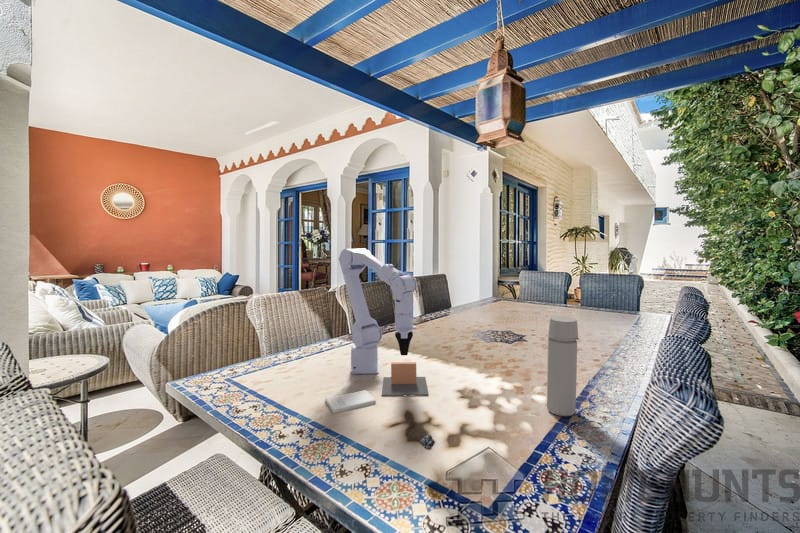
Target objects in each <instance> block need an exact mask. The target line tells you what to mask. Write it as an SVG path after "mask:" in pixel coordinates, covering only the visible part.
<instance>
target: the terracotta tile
mask: <svg viewBox="0 0 800 533" xmlns="http://www.w3.org/2000/svg"><path fill="white" fill-rule="evenodd" d="M390 365H391V367H390V369H391V371H390V372H391V373H390V374H391V376H390V377H391V384H416V377H417V361H405V362H403V361H402V362H401V361H399V362H397V361H396V362H394V361H393V362H390Z"/></svg>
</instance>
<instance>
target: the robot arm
mask: <svg viewBox="0 0 800 533" xmlns="http://www.w3.org/2000/svg"><path fill="white" fill-rule="evenodd" d="M338 260H339V261H338V262H339V265H340V270H341V272H342V275H343V280H344V283H345V287H346V290H347V294H348V299H349V301H350V305H351V309H352V312H353V316H354V320H355V322H354V323H353V325H351V327H350V329H351V339H352V342H353V344H354V345H352V346H351V349H350V350H351V351H350V369H351V370H350V373H351V375H352V374H353V375H357V374H358V375H359V374H360V375H361V374H362V375H364V374H367V375H368V374H369V375H370V374H379V370H380V364H378V363H379V362H378V361H379V360H378V356H379V355H378V352H379V351H378V345H380V342H381V341H382V338H383V331H382V329H381V327H380V326H379V324H378V321H377V320H376V319H374V318H373V317H371V315H370V311H369V307H368V304H367V301H366V297H365V293H364V291H363V290H364V289H363V287H362V283H361V280H360V277H359V276H360V274H361V273H362V272H363V271H364V269H365V268H366V267H368V268H369V269H371V270H372V271H374V272H375V273H377V275H378V278H379V279H380V280H381V281H383V282H384V283H386V284H387V285H388V286H390V290H391V292H392V294H393V299H394V330H395V332H394V334H395V335H394V336H395V338H396V341H397V342H398V347H399V353H400V356H408V354H409V349H410V345H411V342H412V341H411V340H412V338H413V336H414V335H413V334H414V332H413V330H417V325H414V322H413V321H414V318H413V317H414V311H413V310H414V305H413V304H414V301H413V300H414V296H413V295H414V294H413V293H414V292H415V290H416V289H417V280H416V278H415V277H414V276H413V275H412V274H405V273H404V272H403V271H402V270H401V271H400V270H398V269H397V268H395V267H394V264H392V263H385V264H384V263H383V262H381V261H380V260H379V259H378V258H376V256H374V255H373V254H372V252H371V251H370V250H368V249H367V248H365V247H364V248H363V247H362V248H344V249H342V250H341V251H340V254H339V256H338Z"/></svg>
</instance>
